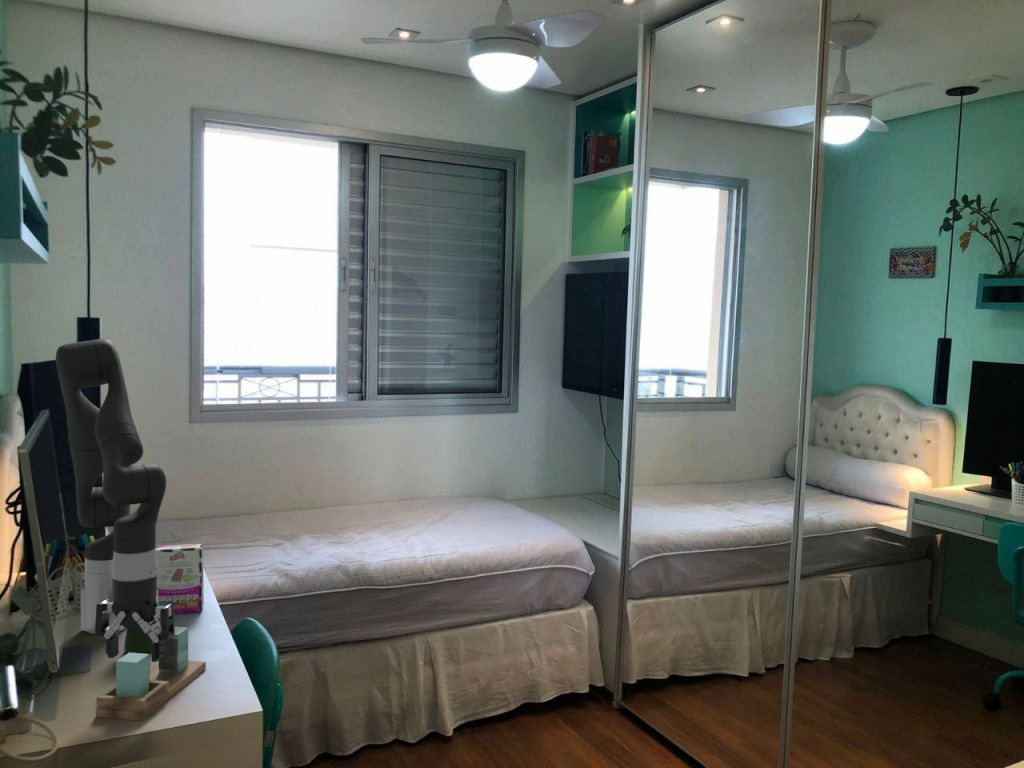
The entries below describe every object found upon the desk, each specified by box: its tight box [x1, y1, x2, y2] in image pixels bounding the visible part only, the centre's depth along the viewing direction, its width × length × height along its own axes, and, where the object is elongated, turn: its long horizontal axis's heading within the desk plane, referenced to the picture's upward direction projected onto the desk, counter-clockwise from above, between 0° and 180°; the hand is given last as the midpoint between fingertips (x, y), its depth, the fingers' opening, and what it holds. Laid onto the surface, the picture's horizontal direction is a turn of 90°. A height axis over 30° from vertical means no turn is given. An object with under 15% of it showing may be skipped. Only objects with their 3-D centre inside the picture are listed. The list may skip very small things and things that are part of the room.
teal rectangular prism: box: [115, 652, 151, 698], centre depth 150 cm, size 4×4×8 cm
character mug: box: [123, 590, 159, 654], centre depth 177 cm, size 11×7×13 cm, turn 13°
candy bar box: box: [156, 543, 205, 615], centre depth 202 cm, size 11×5×16 cm, turn 105°
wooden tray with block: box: [95, 626, 207, 722], centre depth 157 cm, size 9×23×10 cm, turn 173°
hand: (135, 658), depth 150 cm, fingers open, 8 cm apart
